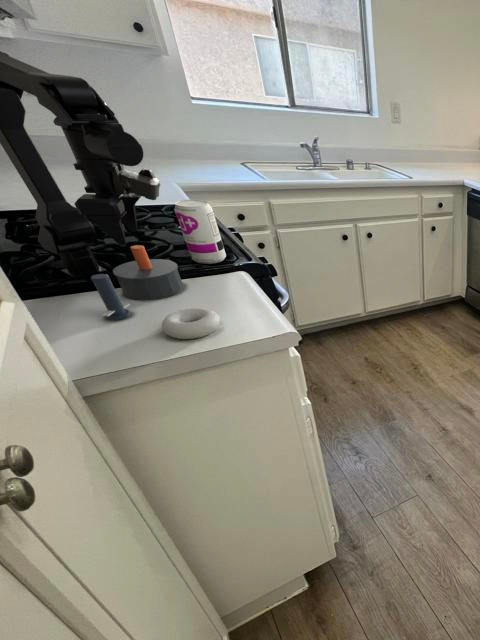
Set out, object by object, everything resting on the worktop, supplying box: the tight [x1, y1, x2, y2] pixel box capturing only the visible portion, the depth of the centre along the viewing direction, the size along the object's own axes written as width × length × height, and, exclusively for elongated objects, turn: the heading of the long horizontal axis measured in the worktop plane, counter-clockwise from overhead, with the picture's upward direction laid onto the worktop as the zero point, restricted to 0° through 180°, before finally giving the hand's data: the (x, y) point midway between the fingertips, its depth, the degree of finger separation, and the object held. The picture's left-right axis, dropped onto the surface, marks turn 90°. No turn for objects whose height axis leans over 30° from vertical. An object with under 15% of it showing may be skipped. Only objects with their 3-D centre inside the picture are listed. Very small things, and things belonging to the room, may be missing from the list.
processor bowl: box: [116, 269, 185, 301], centre depth 97 cm, size 11×11×5 cm
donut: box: [161, 307, 221, 340], centre depth 86 cm, size 10×3×10 cm
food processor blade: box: [90, 273, 131, 321], centre depth 85 cm, size 7×4×9 cm, turn 6°
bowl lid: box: [112, 244, 179, 280], centre depth 94 cm, size 12×12×6 cm
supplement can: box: [174, 199, 227, 265], centre depth 111 cm, size 8×8×15 cm
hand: (129, 237), depth 88 cm, fingers open, 9 cm apart
